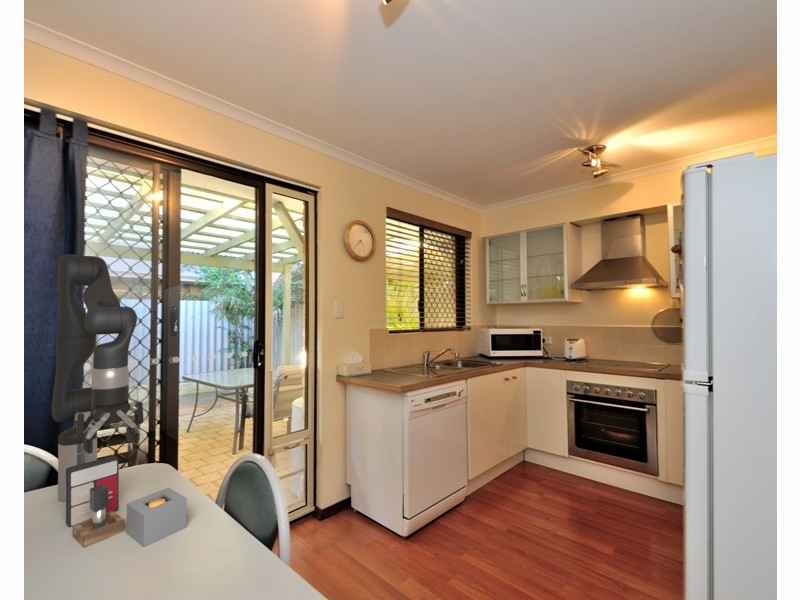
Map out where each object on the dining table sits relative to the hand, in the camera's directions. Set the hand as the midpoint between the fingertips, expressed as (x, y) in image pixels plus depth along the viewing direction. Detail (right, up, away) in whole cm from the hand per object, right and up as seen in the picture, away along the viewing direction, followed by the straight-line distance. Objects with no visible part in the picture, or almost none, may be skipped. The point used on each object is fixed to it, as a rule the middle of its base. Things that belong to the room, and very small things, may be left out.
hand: (109, 447), depth 95 cm
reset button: (+11, -20, +2) cm, 23 cm away
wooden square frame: (-3, -23, 0) cm, 23 cm away
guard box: (+11, -23, +2) cm, 25 cm away
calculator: (-11, -23, +8) cm, 27 cm away
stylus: (-3, -23, 0) cm, 23 cm away
